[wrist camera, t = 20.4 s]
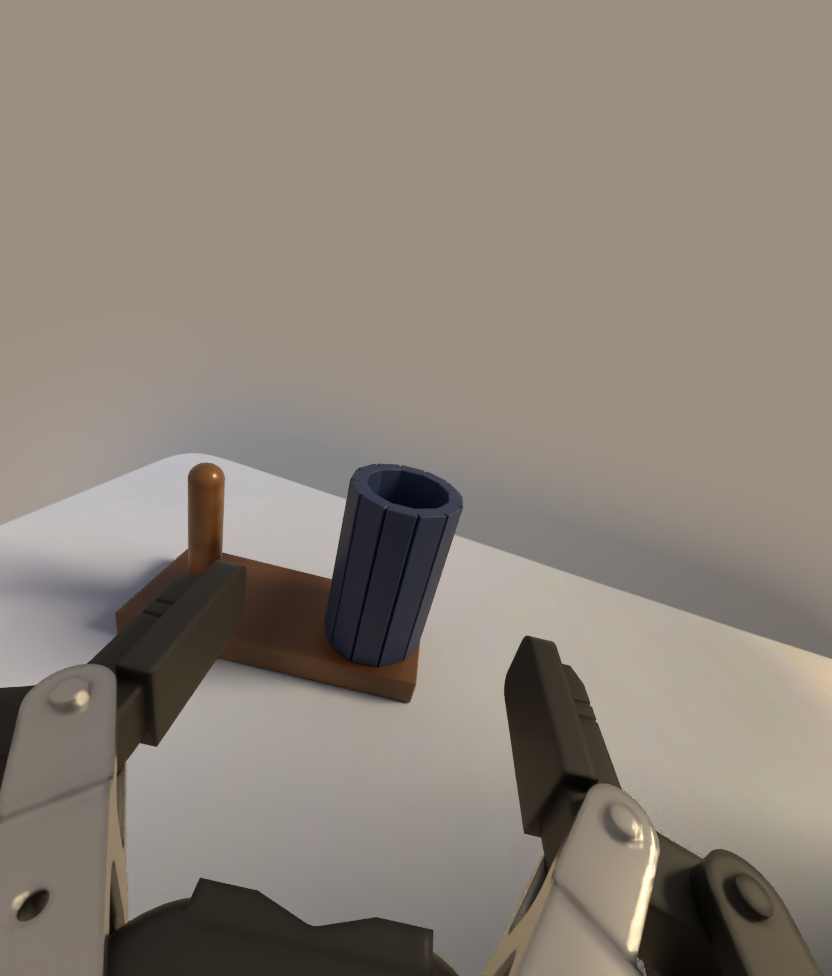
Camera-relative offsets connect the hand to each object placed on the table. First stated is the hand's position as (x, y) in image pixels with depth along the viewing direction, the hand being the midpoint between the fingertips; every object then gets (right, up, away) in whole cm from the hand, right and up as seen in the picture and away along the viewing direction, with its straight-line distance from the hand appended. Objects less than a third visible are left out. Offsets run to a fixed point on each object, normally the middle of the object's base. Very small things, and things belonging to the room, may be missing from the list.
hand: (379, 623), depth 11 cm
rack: (-7, -5, +14) cm, 17 cm away
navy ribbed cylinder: (-2, -5, +14) cm, 15 cm away
